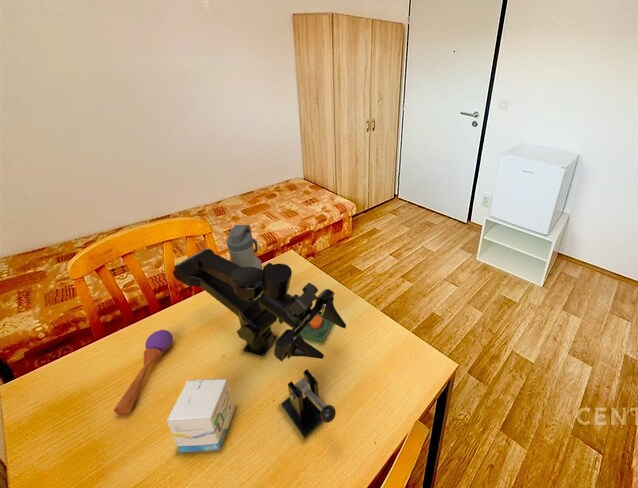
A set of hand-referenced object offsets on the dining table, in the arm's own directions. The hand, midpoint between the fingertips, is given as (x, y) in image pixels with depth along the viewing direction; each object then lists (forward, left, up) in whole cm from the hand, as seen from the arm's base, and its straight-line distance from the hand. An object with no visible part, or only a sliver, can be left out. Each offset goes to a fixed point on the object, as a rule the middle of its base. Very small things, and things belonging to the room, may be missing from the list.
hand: (335, 341), depth 75 cm
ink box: (-23, -17, -17) cm, 33 cm away
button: (-12, +13, -13) cm, 22 cm away
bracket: (-4, -8, -16) cm, 19 cm away
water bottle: (-38, +19, -17) cm, 46 cm away
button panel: (-13, +14, -16) cm, 25 cm away
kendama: (-47, -10, -17) cm, 51 cm away
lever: (0, -11, -8) cm, 13 cm away
